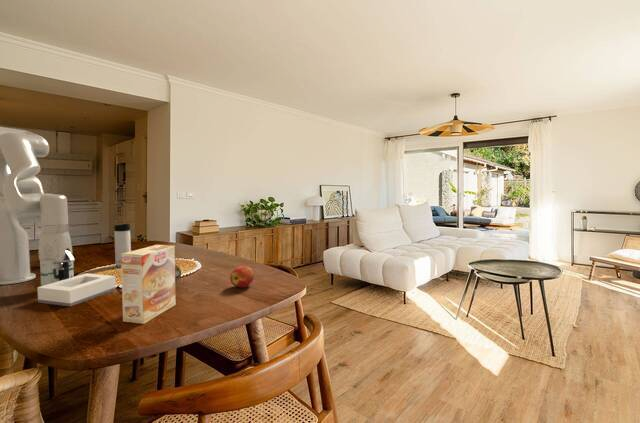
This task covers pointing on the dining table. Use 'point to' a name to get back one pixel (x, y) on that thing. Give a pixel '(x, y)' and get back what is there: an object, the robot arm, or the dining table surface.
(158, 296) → the coffeecake box
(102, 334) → the dining table surface
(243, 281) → the apple
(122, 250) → the travel mug
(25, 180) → the robot arm
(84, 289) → the holder block
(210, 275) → the dining table surface
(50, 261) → the ink box
